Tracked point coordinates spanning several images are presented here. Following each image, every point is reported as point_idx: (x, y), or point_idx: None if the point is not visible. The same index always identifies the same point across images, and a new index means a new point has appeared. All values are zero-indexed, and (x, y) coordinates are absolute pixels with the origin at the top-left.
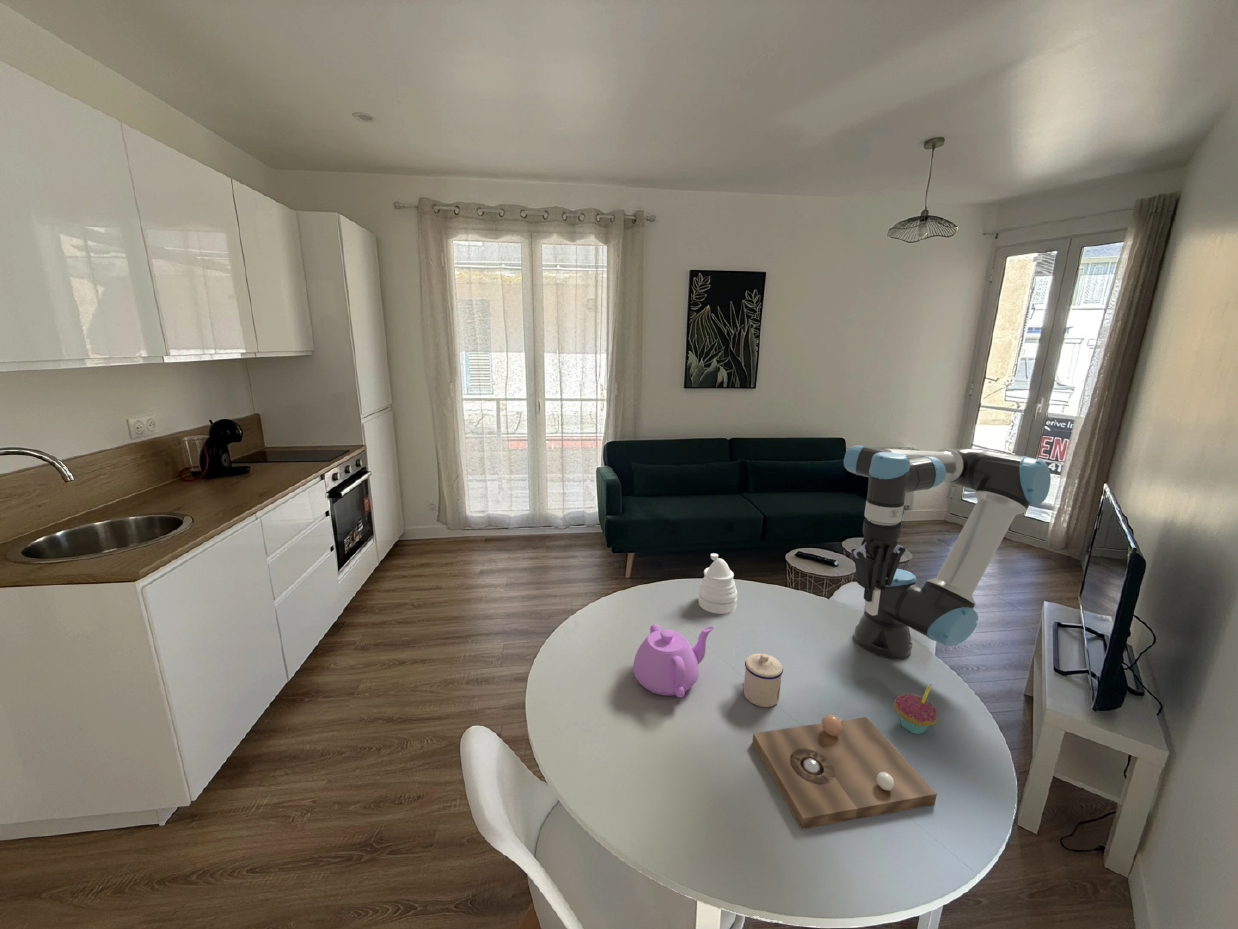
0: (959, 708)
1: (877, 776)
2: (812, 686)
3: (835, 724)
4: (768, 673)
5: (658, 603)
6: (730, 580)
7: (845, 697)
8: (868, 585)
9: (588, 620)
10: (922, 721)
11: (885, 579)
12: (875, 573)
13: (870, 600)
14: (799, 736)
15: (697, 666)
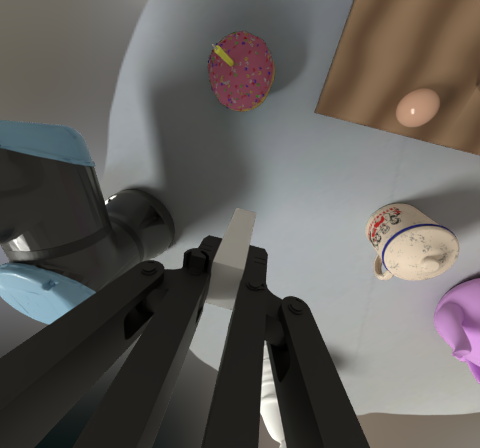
0: (144, 76)
1: None
2: (306, 206)
3: (434, 95)
4: (446, 235)
5: (346, 390)
6: (272, 393)
7: (283, 170)
8: (285, 309)
9: (454, 408)
10: (260, 39)
11: (164, 299)
12: (236, 377)
13: (253, 249)
14: (464, 126)
15: (477, 301)
